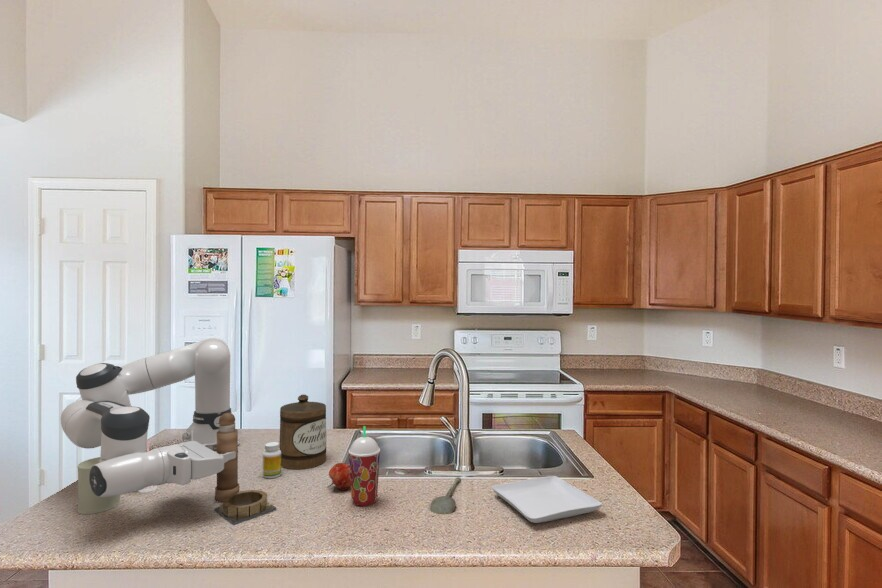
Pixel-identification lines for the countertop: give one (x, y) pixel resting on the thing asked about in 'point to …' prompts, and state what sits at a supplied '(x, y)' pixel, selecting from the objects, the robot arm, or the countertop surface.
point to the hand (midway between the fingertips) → (227, 450)
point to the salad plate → (546, 498)
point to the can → (86, 497)
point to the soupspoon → (444, 502)
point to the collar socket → (244, 506)
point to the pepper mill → (229, 474)
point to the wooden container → (302, 434)
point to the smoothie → (364, 470)
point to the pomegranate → (340, 475)
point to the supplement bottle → (271, 460)
